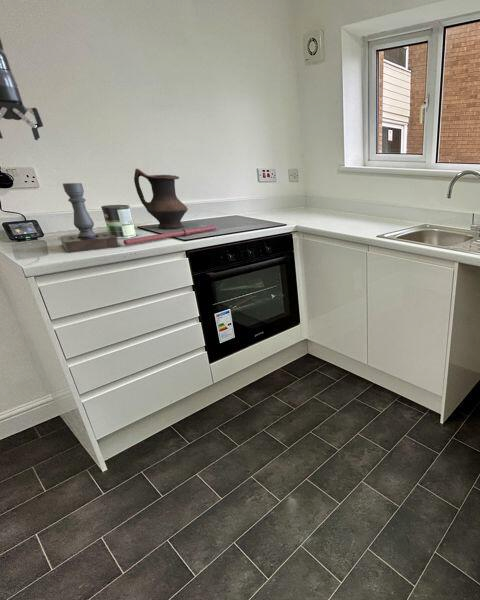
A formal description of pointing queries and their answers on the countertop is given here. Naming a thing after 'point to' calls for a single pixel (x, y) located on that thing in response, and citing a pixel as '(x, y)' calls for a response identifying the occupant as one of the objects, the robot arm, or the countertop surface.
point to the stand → (89, 242)
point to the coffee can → (119, 221)
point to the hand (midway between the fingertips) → (19, 139)
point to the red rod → (168, 235)
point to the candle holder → (79, 210)
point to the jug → (162, 200)
